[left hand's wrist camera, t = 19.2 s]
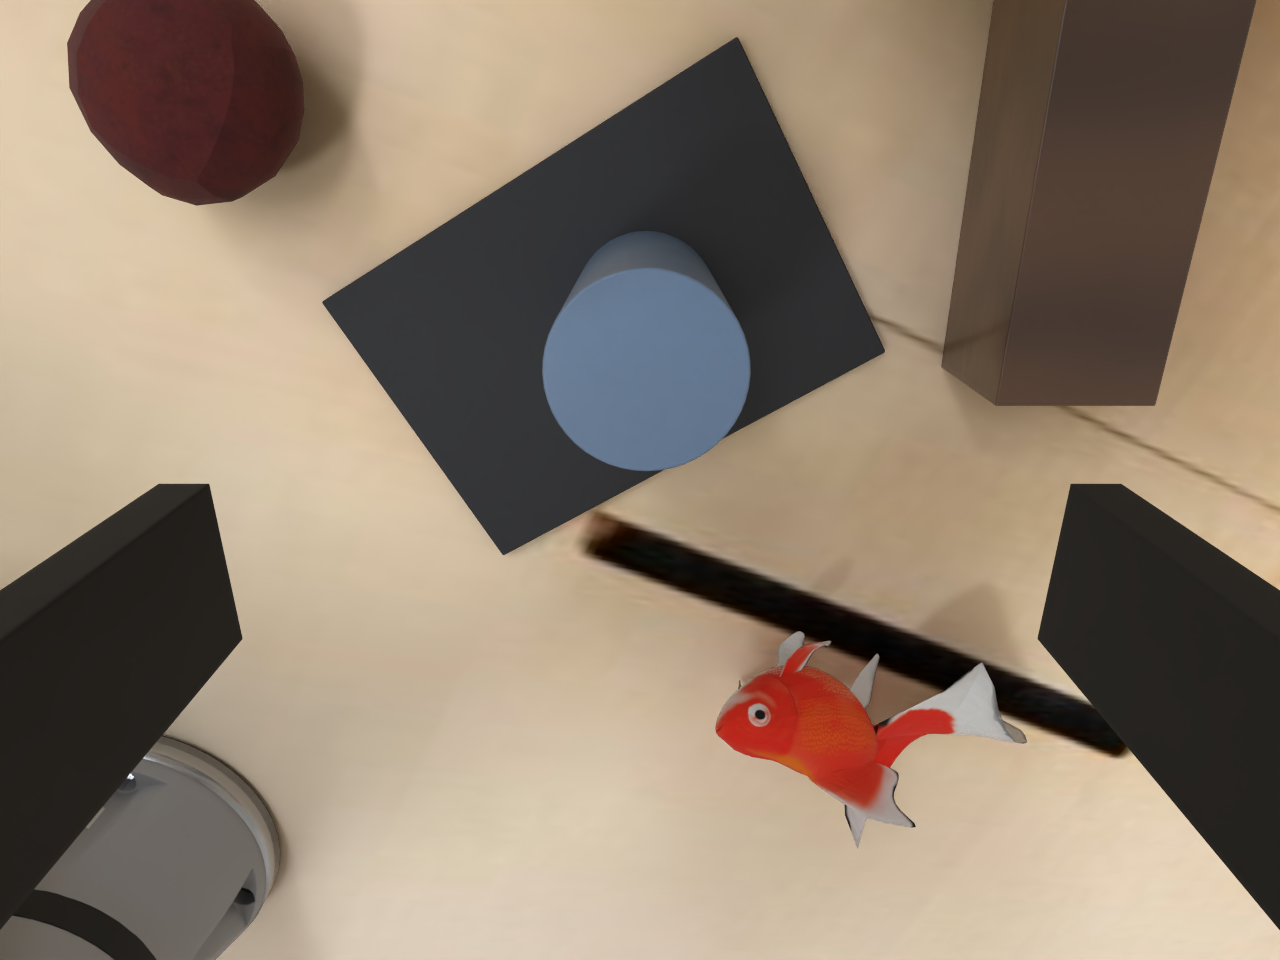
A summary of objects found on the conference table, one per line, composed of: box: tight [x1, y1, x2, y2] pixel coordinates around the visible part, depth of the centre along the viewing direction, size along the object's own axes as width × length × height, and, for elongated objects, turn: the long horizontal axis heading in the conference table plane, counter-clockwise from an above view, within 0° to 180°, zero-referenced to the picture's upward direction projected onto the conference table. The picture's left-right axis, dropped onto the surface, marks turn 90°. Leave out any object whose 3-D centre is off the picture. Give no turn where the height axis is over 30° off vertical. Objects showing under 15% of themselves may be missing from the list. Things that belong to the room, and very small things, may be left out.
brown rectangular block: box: [942, 0, 1256, 406], centre depth 29 cm, size 22×6×6 cm, turn 0°
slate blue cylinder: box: [542, 231, 750, 471], centre depth 29 cm, size 6×6×12 cm
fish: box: [716, 631, 1027, 848], centre depth 38 cm, size 11×16×10 cm
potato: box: [67, 0, 304, 205], centre depth 28 cm, size 7×8×7 cm
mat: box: [322, 38, 885, 555], centre depth 35 cm, size 20×14×1 cm
